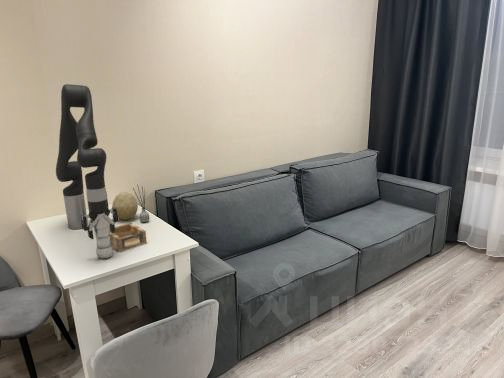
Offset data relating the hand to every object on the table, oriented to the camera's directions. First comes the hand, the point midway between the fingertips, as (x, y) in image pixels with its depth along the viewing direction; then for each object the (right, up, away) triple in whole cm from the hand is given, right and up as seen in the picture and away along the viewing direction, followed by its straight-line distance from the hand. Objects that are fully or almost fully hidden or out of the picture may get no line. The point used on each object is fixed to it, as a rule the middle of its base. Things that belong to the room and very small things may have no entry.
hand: (102, 235), depth 155 cm
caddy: (+4, -5, +16) cm, 18 cm away
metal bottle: (0, -10, +3) cm, 10 cm away
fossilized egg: (-5, +3, +45) cm, 45 cm away
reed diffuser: (+5, +2, +41) cm, 41 cm away
